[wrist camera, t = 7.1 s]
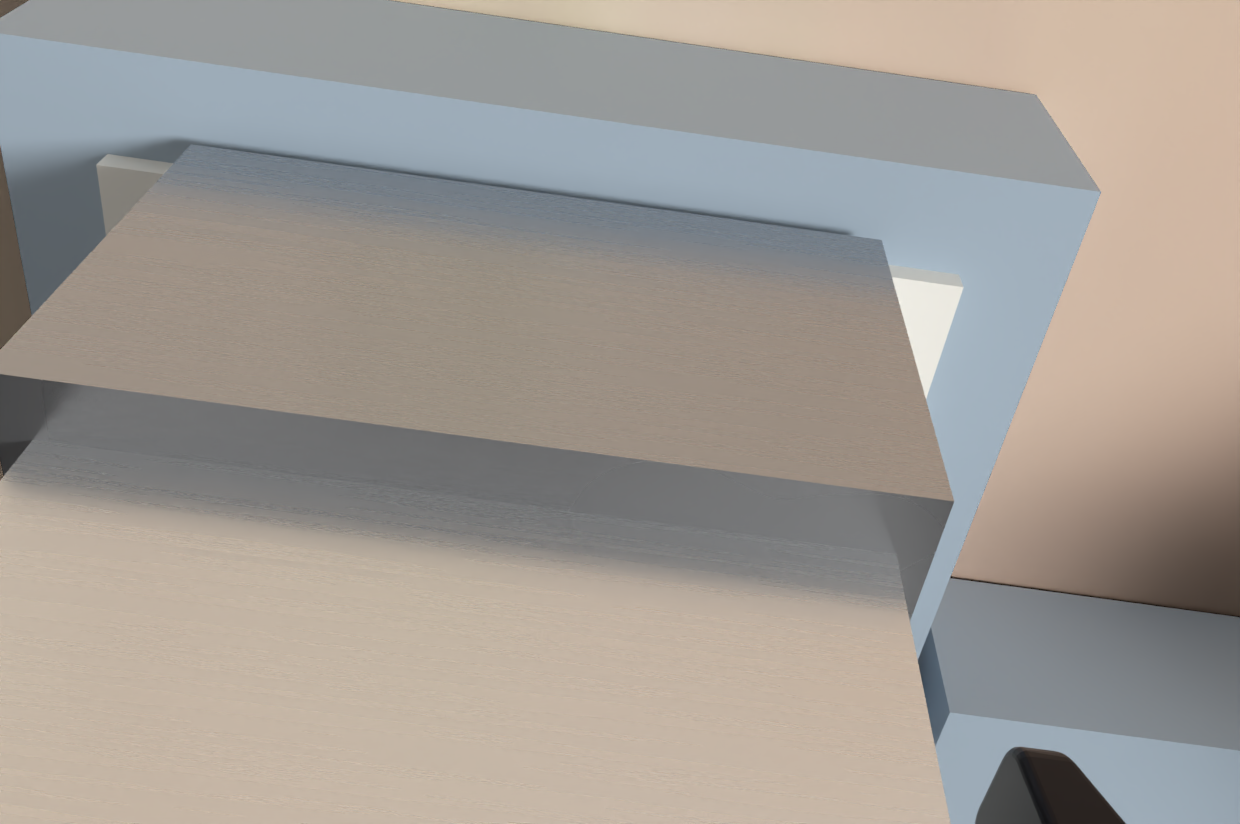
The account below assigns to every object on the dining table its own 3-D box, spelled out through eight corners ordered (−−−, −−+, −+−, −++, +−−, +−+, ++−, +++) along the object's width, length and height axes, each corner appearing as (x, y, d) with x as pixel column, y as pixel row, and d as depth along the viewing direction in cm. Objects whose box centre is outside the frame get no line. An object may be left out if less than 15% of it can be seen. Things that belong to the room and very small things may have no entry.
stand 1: (825, 716, 15) (842, 873, 13) (181, 631, 14) (107, 779, 13) (1035, 95, 10) (1108, 204, 8) (99, -43, 10) (-35, 39, 8)
